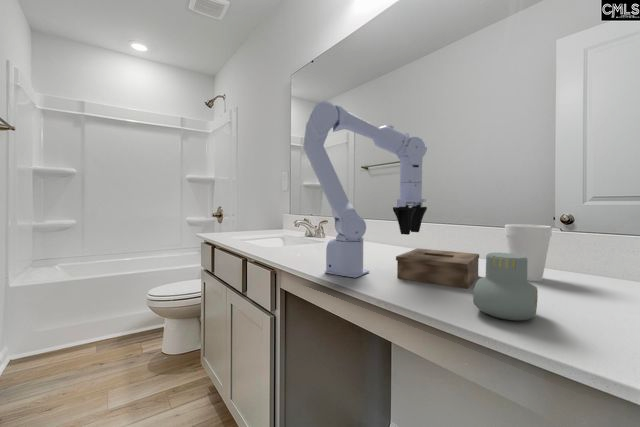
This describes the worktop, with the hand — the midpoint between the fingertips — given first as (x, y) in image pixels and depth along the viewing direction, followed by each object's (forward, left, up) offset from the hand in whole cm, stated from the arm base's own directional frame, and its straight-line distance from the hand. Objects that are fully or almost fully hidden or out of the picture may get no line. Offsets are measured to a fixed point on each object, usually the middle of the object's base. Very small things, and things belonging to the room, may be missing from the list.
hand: (410, 233), depth 82 cm
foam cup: (+26, +10, -11) cm, 30 cm away
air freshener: (+24, -22, -11) cm, 34 cm away
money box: (+8, -2, -10) cm, 13 cm away
